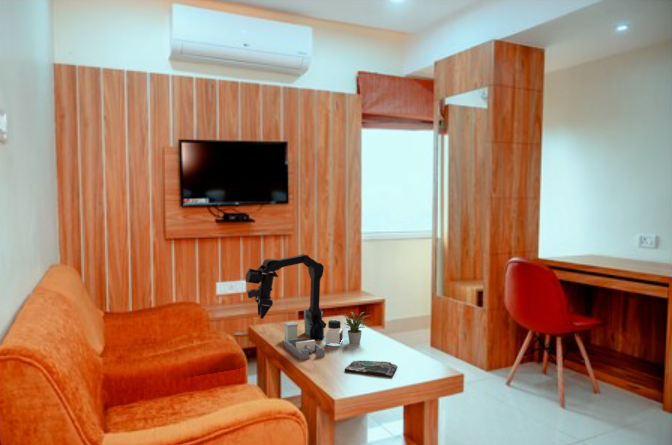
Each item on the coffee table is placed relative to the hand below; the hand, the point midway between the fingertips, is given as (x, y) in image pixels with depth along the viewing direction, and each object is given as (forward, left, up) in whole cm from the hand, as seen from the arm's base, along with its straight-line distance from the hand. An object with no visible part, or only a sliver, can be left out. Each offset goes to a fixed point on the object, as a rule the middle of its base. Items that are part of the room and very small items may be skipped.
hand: (260, 316), depth 232 cm
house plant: (-46, -15, -15) cm, 51 cm away
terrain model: (-56, +19, -16) cm, 61 cm away
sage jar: (-12, -13, -15) cm, 23 cm away
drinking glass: (-21, -28, -15) cm, 38 cm away
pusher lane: (-22, +1, -15) cm, 27 cm away
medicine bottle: (-35, -11, -15) cm, 40 cm away
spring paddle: (-25, +5, -15) cm, 29 cm away
